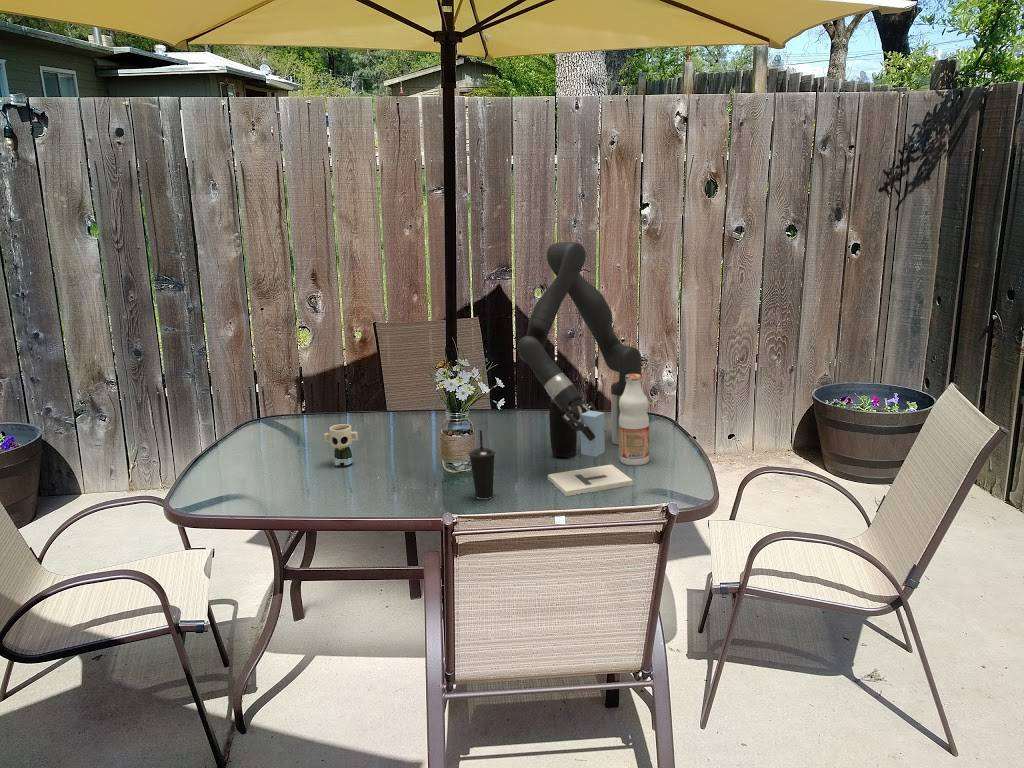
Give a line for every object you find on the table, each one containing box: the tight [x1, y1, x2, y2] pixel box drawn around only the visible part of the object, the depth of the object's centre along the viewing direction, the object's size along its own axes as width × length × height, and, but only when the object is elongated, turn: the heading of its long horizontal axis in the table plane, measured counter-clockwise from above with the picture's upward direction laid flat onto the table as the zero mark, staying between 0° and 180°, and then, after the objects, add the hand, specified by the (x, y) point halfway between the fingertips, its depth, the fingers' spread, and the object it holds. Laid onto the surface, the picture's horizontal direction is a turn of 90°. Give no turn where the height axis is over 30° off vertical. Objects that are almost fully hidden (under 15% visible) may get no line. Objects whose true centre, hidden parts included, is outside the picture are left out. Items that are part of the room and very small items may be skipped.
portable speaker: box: [549, 397, 578, 459], centre depth 264 cm, size 9×9×20 cm
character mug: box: [323, 423, 359, 459], centre depth 266 cm, size 11×7×13 cm, turn 90°
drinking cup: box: [468, 429, 496, 498], centre depth 232 cm, size 8×8×20 cm
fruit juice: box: [618, 374, 650, 466], centre depth 254 cm, size 9×9×28 cm
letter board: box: [547, 464, 634, 497], centre depth 242 cm, size 21×15×2 cm
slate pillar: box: [580, 411, 606, 457], centre depth 238 cm, size 5×5×12 cm
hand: (598, 436), depth 237 cm, fingers closed on slate pillar, 5 cm apart
